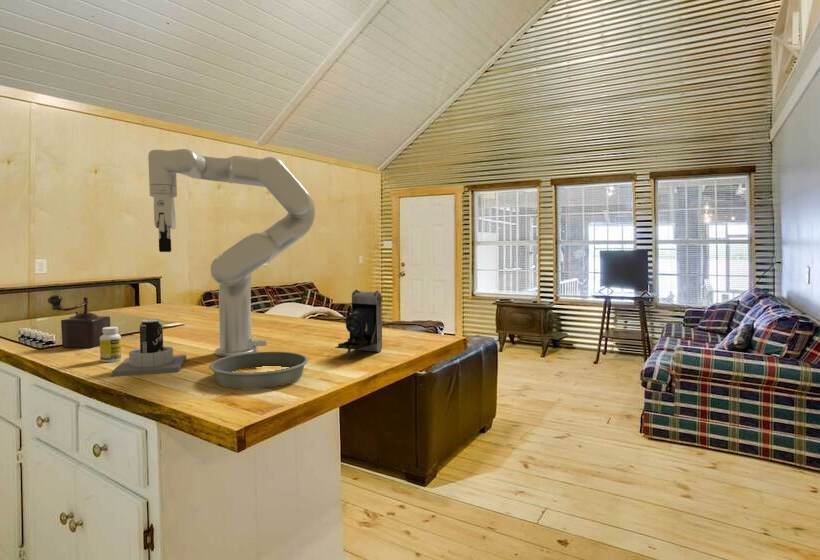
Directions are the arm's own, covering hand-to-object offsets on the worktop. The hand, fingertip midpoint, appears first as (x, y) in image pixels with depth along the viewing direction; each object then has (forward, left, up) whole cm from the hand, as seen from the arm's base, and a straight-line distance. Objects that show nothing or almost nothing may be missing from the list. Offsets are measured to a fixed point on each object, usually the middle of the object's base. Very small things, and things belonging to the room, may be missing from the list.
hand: (165, 251), depth 153 cm
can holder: (+2, +16, -32) cm, 36 cm away
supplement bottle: (+15, +4, -32) cm, 36 cm away
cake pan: (-27, +36, -33) cm, 55 cm away
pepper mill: (+30, -21, -32) cm, 49 cm away
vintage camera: (-57, +18, -32) cm, 68 cm away
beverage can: (+2, +15, -31) cm, 35 cm away
